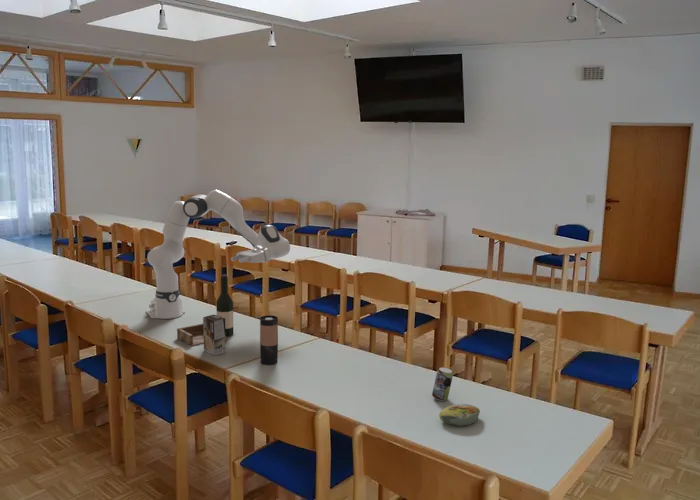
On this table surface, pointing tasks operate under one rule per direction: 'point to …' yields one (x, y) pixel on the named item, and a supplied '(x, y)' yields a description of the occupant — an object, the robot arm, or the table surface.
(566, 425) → the table surface
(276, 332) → the travel mug
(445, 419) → the cell model
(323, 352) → the table surface
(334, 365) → the table surface
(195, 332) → the tray
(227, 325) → the wine bottle
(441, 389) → the beverage can
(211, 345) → the coffee box
